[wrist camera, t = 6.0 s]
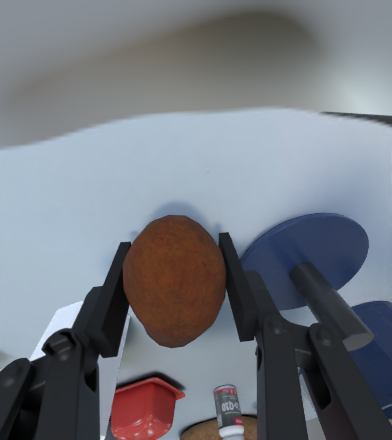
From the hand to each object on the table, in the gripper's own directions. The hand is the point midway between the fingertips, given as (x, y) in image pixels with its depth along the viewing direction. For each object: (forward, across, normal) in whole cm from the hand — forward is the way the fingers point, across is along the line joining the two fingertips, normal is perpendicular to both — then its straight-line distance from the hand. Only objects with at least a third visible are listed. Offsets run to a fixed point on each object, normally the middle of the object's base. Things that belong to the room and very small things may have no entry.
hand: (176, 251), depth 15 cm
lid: (+2, +13, -6) cm, 14 cm away
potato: (+1, 0, 0) cm, 1 cm away
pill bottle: (+3, +6, -42) cm, 42 cm away
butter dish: (+3, -9, -35) cm, 36 cm away
